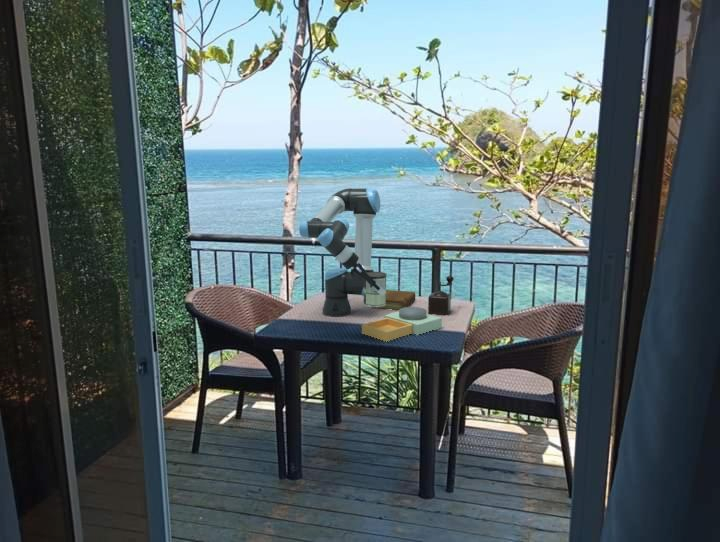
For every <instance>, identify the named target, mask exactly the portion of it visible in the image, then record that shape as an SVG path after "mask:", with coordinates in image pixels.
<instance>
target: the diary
mask: <svg viewBox="0 0 720 542" xmlns="http://www.w3.org/2000/svg"><path fill="white" fill-rule="evenodd" d="M415 301H416V292H415V291H407V290H392V289H386V305H385V306H382V307H370V308H371V309H373V310H374V309H377V310H386V309H392V310H391V311H398V310H400V309H401V308H405V307H411V305H412V304H413V303H414V302H415Z"/></svg>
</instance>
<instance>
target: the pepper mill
mask: <svg viewBox="0 0 720 542" xmlns="http://www.w3.org/2000/svg"><path fill="white" fill-rule="evenodd" d="M445 280H446V281H447V283H445V284H442V281H438V285H437V286H438V291H436V292H431V294H430V295H429V296H428V298H427V299H428V304H427V305H428V307H427V308H428V309H427V314H429V315H432V314H436V315H435V316H445V315H448V314H449V313H451V312H452V309H451V307H452V306H451V305H452V304H451V303H452V294H451V293H449V292H448V293H447V292H446V291H444V290H442V289H441V287H447V286H448V287H450V286H452V285H453V281H454V280H455V279H454V277H453V276H452V275H451V276H450V275H448V276H446V278H445ZM449 315H450V314H449ZM449 315H448V316H449Z"/></svg>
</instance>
